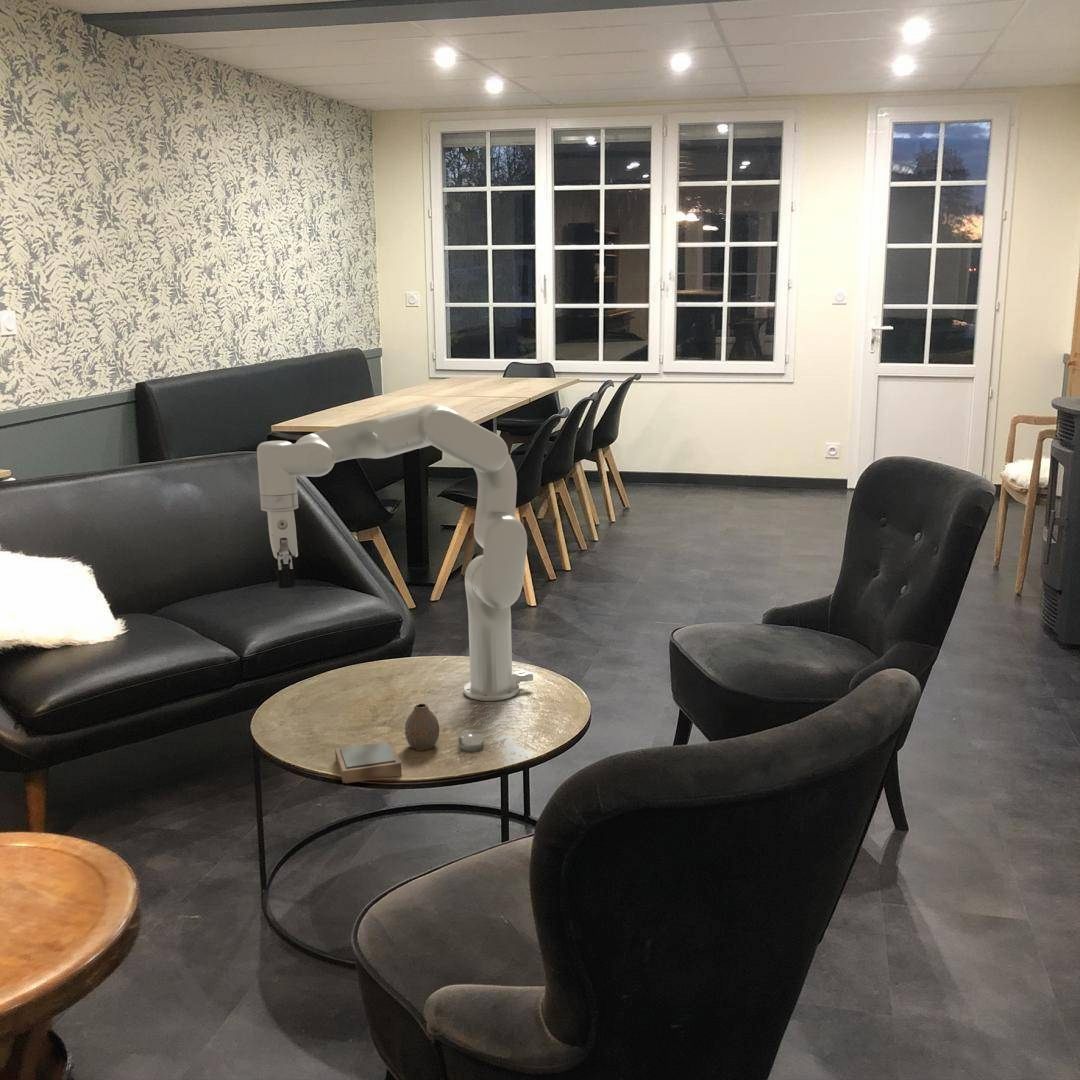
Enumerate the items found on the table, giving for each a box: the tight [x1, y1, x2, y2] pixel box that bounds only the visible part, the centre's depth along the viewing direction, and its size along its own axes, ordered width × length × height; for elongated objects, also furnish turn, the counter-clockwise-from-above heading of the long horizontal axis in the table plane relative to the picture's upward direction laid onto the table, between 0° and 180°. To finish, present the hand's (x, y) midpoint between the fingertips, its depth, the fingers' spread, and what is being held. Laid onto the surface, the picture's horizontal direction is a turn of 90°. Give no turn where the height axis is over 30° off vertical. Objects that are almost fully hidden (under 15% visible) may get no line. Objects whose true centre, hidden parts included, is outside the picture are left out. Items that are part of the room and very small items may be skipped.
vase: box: [404, 703, 440, 751], centre depth 223 cm, size 7×7×9 cm
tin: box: [457, 729, 485, 754], centre depth 222 cm, size 5×5×3 cm
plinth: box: [334, 740, 403, 784], centre depth 214 cm, size 11×11×3 cm
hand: (284, 581), depth 233 cm, fingers open, 9 cm apart
